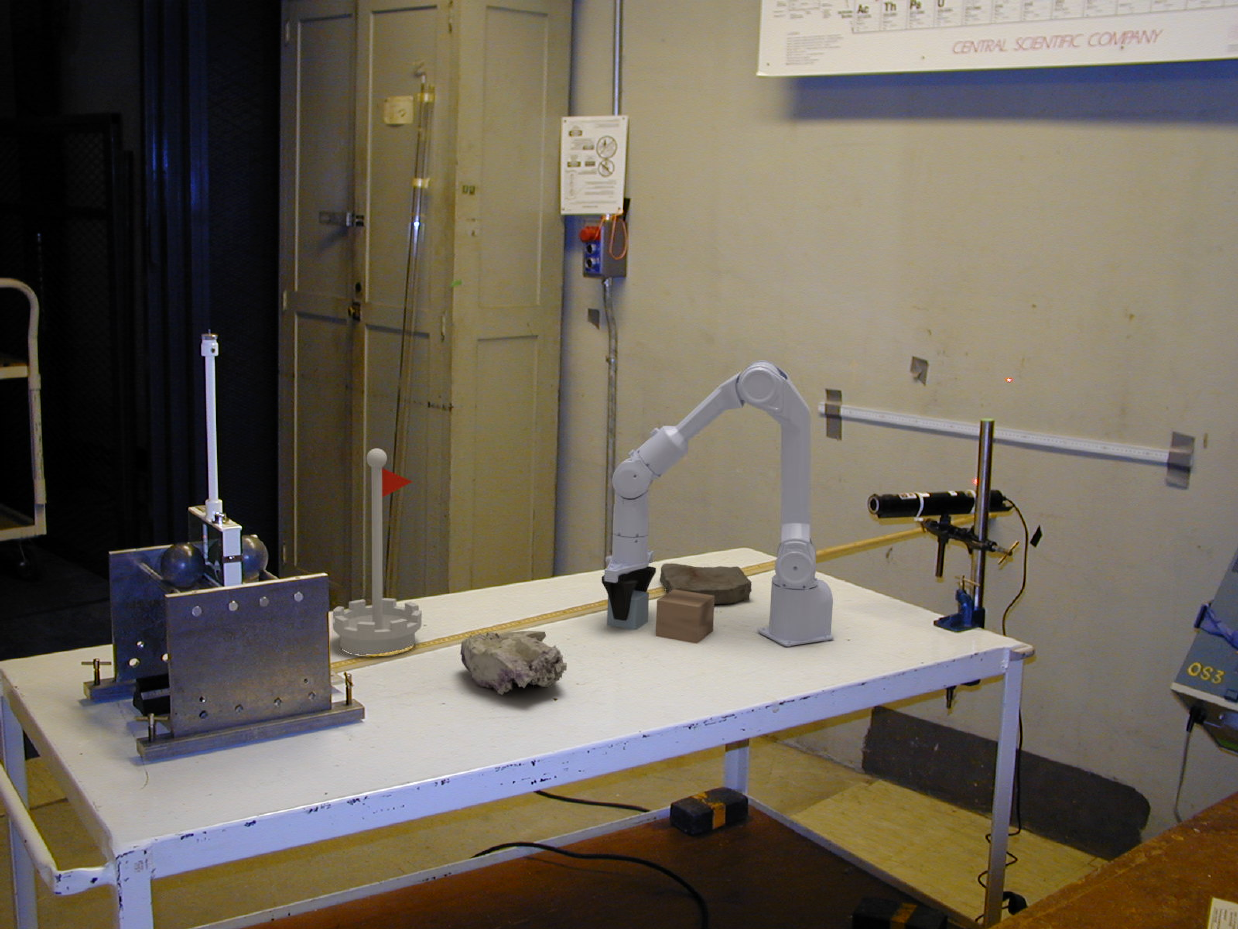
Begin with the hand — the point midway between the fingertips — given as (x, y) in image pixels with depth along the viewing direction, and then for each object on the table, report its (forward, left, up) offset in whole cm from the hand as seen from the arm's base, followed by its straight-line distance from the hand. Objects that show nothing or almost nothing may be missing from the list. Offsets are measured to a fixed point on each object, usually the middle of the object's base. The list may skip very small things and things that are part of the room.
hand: (627, 614), depth 193 cm
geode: (+27, +18, -2) cm, 32 cm away
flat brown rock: (-21, -10, -2) cm, 23 cm away
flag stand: (+40, -5, -2) cm, 40 cm away
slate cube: (0, 0, -2) cm, 2 cm away
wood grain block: (-6, +8, -2) cm, 10 cm away
